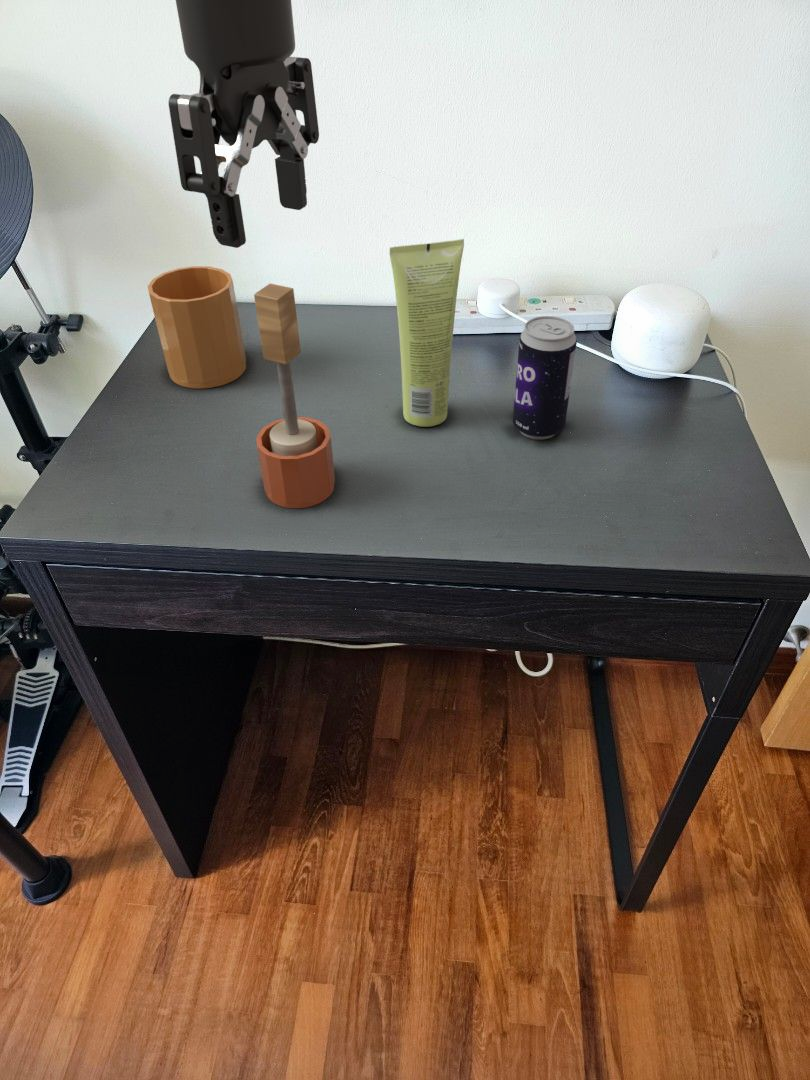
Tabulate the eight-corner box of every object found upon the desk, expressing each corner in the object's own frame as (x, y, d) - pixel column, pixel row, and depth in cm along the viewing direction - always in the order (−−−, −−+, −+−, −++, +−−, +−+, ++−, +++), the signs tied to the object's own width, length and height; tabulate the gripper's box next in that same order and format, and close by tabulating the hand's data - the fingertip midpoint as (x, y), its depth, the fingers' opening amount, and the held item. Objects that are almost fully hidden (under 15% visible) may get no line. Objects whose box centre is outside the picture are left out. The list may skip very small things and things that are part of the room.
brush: (306, 500, 77) (281, 306, 63) (268, 488, 78) (236, 296, 65) (329, 475, 80) (310, 285, 66) (292, 464, 81) (266, 276, 68)
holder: (311, 516, 76) (305, 466, 72) (250, 496, 78) (241, 446, 74) (348, 476, 80) (344, 427, 76) (289, 458, 83) (282, 410, 79)
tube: (420, 397, 91) (420, 227, 78) (458, 409, 89) (464, 237, 76) (394, 421, 88) (388, 247, 75) (433, 434, 86) (434, 257, 73)
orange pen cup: (215, 395, 93) (197, 307, 85) (152, 378, 96) (130, 291, 88) (261, 359, 99) (248, 274, 91) (201, 344, 102) (183, 260, 95)
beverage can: (528, 408, 89) (537, 309, 81) (573, 424, 87) (588, 323, 79) (502, 432, 86) (510, 330, 78) (548, 449, 83) (561, 346, 75)
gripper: (246, -42, 57) (275, 191, 68) (109, -15, 48) (167, 250, 59) (336, -38, 55) (350, 203, 65) (209, -9, 45) (251, 267, 56)
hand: (264, 225), depth 62 cm, fingers open, 8 cm apart
